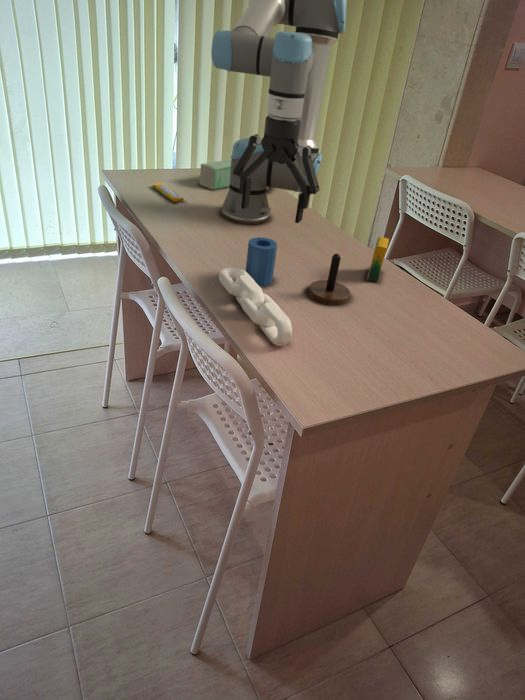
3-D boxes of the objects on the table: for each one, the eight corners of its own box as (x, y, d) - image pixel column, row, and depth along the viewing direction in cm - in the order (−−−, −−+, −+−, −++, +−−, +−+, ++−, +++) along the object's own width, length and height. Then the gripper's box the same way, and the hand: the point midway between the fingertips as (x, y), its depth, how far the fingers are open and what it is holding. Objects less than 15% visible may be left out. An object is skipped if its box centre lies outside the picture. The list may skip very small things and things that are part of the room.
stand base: (305, 284, 136) (306, 279, 135) (343, 286, 138) (345, 281, 137) (312, 304, 128) (313, 298, 127) (353, 306, 130) (354, 300, 129)
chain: (297, 347, 112) (301, 321, 109) (271, 352, 109) (274, 326, 106) (238, 281, 133) (241, 258, 130) (215, 284, 131) (217, 261, 127)
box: (240, 184, 196) (242, 163, 192) (213, 190, 187) (214, 169, 183) (226, 178, 200) (227, 158, 196) (199, 184, 191) (199, 163, 187)
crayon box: (377, 282, 142) (388, 241, 135) (366, 280, 142) (376, 239, 136) (380, 271, 148) (391, 231, 141) (370, 269, 148) (379, 229, 142)
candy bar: (184, 202, 175) (185, 197, 173) (173, 204, 172) (173, 198, 171) (162, 186, 185) (162, 180, 184) (151, 187, 183) (151, 181, 182)
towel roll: (244, 273, 138) (247, 236, 132) (270, 274, 139) (275, 238, 133) (246, 285, 132) (250, 248, 126) (273, 287, 133) (278, 249, 127)
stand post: (325, 287, 133) (332, 251, 127) (333, 287, 133) (340, 252, 128) (326, 291, 131) (334, 255, 126) (334, 291, 131) (342, 256, 126)
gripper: (222, 108, 114) (216, 205, 126) (334, 131, 107) (316, 232, 119) (238, 104, 120) (230, 197, 132) (344, 126, 113) (326, 222, 125)
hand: (271, 214), depth 125 cm, fingers open, 13 cm apart
